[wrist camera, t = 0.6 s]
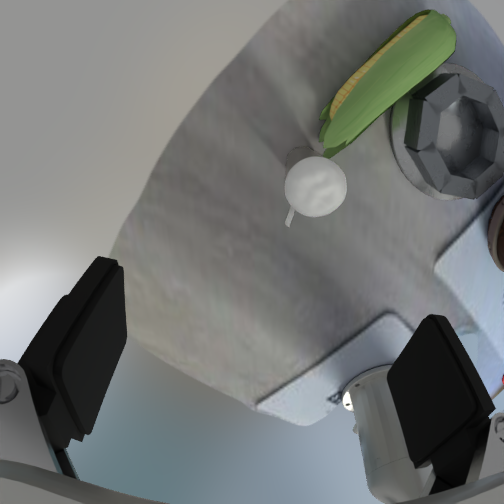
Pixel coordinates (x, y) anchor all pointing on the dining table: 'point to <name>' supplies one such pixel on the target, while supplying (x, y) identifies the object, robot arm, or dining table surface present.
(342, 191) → the milkshake
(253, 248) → the dining table surface
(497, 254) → the flowerpot
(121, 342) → the robot arm
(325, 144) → the edible corn
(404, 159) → the collar
